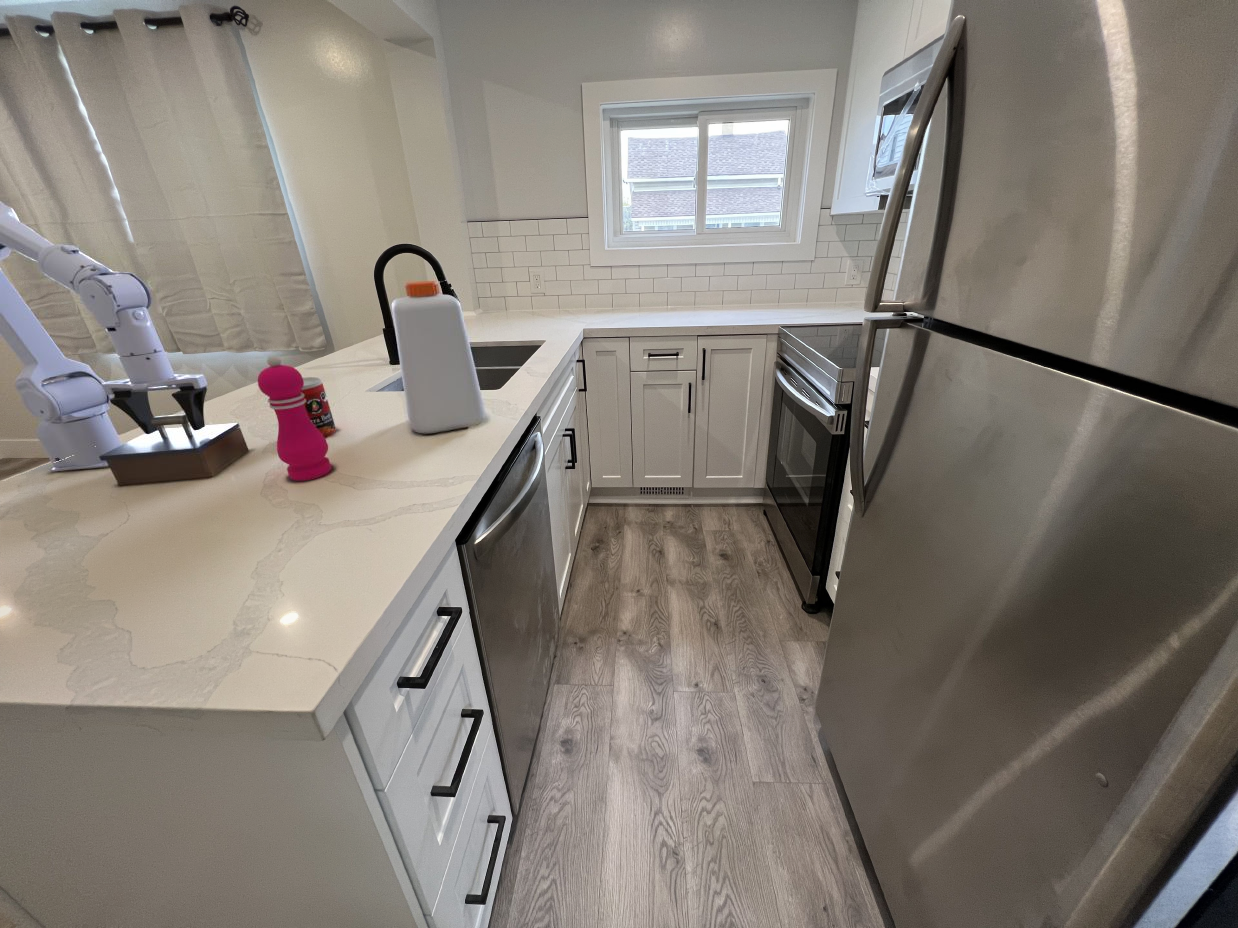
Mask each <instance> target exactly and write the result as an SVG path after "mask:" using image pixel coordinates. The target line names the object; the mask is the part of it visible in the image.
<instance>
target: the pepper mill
mask: <svg viewBox="0 0 1238 928" xmlns="http://www.w3.org/2000/svg"><path fill="white" fill-rule="evenodd" d="M266 361H267V364H268V367H265V368H263V370H261V371H260V372H259V374H258V376H257V386H258V388H259V390H260V392H262V393H263V394H264V395H266V396H267V397H268V399H267V403H269V408H270V409H272V410H273V411H274V412H275V415H276V419H277V424H278V426H277V427H278V429H277V430H278V433H277V438H276V451H277V457H278V458H279V460H280V461H281V462H283V463H285V464H287V465H288V466H287V467H286V472H287V473H288V477H289V478H290V480H292V481H297V482H298V481H299V482H302V481H303V482H304V481H311V480H314V479H318V478H320V477H324V476H325V475H327V474H328V473H330V472H331V470H332V464H331V462H330V458H328V457H327V456H326V455H327V453H328V451H329V444H328V442H327V439H326V438H324V436H323V435H322V433H321V432H320V431H319V430H318V429H317V428H316V427H315V426H314V424H313V423H312V422H311V420H310V419H309V417H308V415H307V412H306V410H305V405H304V403H305V402H306V399H305V398H304V394H303V393H301V390H302V388H303V386H304V381H303V378H304V377H303V376H302V373H300V371H299V370H298V369H297V368H295V367H293V366H290V365H286V364H282V360H281V358H280V357H279V356H277V355H270V356H268V358H267V360H266Z"/></svg>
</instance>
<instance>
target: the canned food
mask: <svg viewBox="0 0 1238 928" xmlns="http://www.w3.org/2000/svg"><path fill="white" fill-rule="evenodd" d="M302 378H303V381H304V386H303V388H302V390H301V393H303V394H304V398H305V399H306V402H305V403H304V405H305V410H306V412H307V415H308V417H309V419H310V420H311V422H312V423H313V424H314V426H315V427H316V428H317V429H318V430H319V431H320V432H321V433H322V435H323V436H324V438H325V439H326V438H329V437H330V436H332V435H333V434H335V433H336V424H335V421H334V417H333V414H332V411H331V407H330V404H329V400H328V397H327V394H326V390H325V387H324V384H323V380H322V379H321V378H320V377H312V376H311V377H310V376H309V377H302Z"/></svg>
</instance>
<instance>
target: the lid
mask: <svg viewBox="0 0 1238 928" xmlns="http://www.w3.org/2000/svg"><path fill="white" fill-rule="evenodd" d="M151 423H152V424H153V425H154V426H156V427H157V429H158V430H157V431H155V432H153V433H151V434H145V433H143V434H141V435H139V436H137V437H135V438H133V439H132V440H128V441H127V442H125V443H122V444H123V445H121V446H119V447H117V448H115V449H113V450H111V451H109V452H107V453H105V454H103V455H101V456H99V458H100V459H101V461H104V460H116V459H128V458H140V457H152V456H164V455H176V454H187V453H199V452H200V451H202V450H204V449H205V448H207V447H208V446H210V445H212V444H213V443H215V442H216V441H218V440H220V439H221V438H223V437H224V436H226V435H228V434H229V433H231V432H232V431H234V430H236V429H237V428H239V427H240V426H241V425H240V423H238V422H234V423H222V424H208V425H205V427H203V428H202V429H200V430H195V431H194V430H193V428H192V427H191V425H190V423H189V421H188V419H187V416H186V414H185V413H184V414H172V415H160V416H159V415H158V416H153V417H152V419H151ZM175 425H181V427H171V428H165V426H175ZM240 428H241V427H240Z"/></svg>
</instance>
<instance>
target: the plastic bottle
mask: <svg viewBox="0 0 1238 928" xmlns="http://www.w3.org/2000/svg"><path fill="white" fill-rule="evenodd" d="M404 289H405V293H406V296H405V297H399V298H395V299H394V300H393V301H392V303H391V311H392V319H393V325H394V333H395V338H396V344H397V345H396V346H397V353H398V359H399V366H400V372H401V373H400V374H401V380H402V387H403V393H404V400H405V406H406V413H407V418H408V422H409V426H410V429H411V430H412V431H414V432H415V433H417V434H422V435H423V434H426V435H427V434H429V435H430V434H437V433H442V432H448V431H453V430H459V429H460V430H461V429H465V428H471V427H474V426H478V425H480V424H481V423H482V422H483V421H484V420H485V419H486V416H487V413H486V408H485V405H484V400H483V395H482V392H481V388H480V387H481V386H480V382H479V379H478V378H479V377H478V374H477V370H476V365H475V361H474V356H473V353H472V348H471V345H470V340H469V335H468V332H467V327H466V323H465V317H464V314H463V309H462V304H461V303H460V301H459V300H458V299H457V298H456V297H455V296H452V295H450V294H441V291H440V286H439V282H437V281H435V280H423V281H422V280H421V281H410V282H407V283H405V285H404Z"/></svg>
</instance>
